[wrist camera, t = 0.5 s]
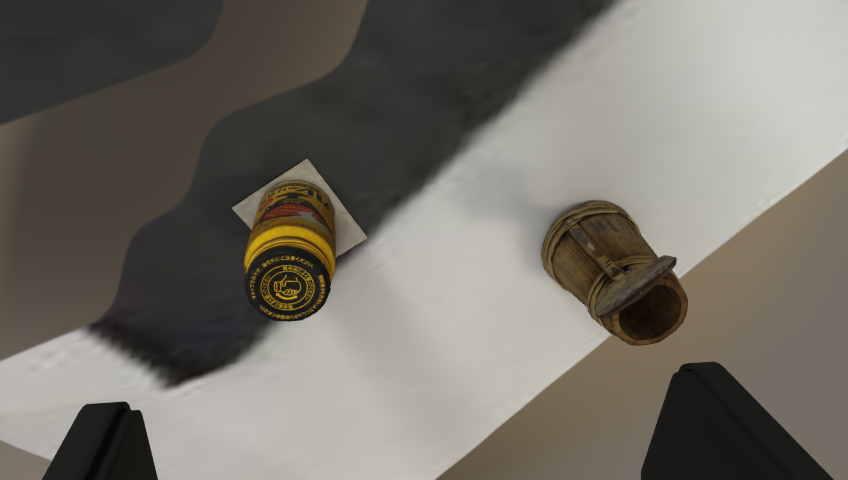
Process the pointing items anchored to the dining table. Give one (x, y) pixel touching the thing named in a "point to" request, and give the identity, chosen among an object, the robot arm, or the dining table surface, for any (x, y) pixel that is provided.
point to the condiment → (294, 243)
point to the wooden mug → (615, 273)
